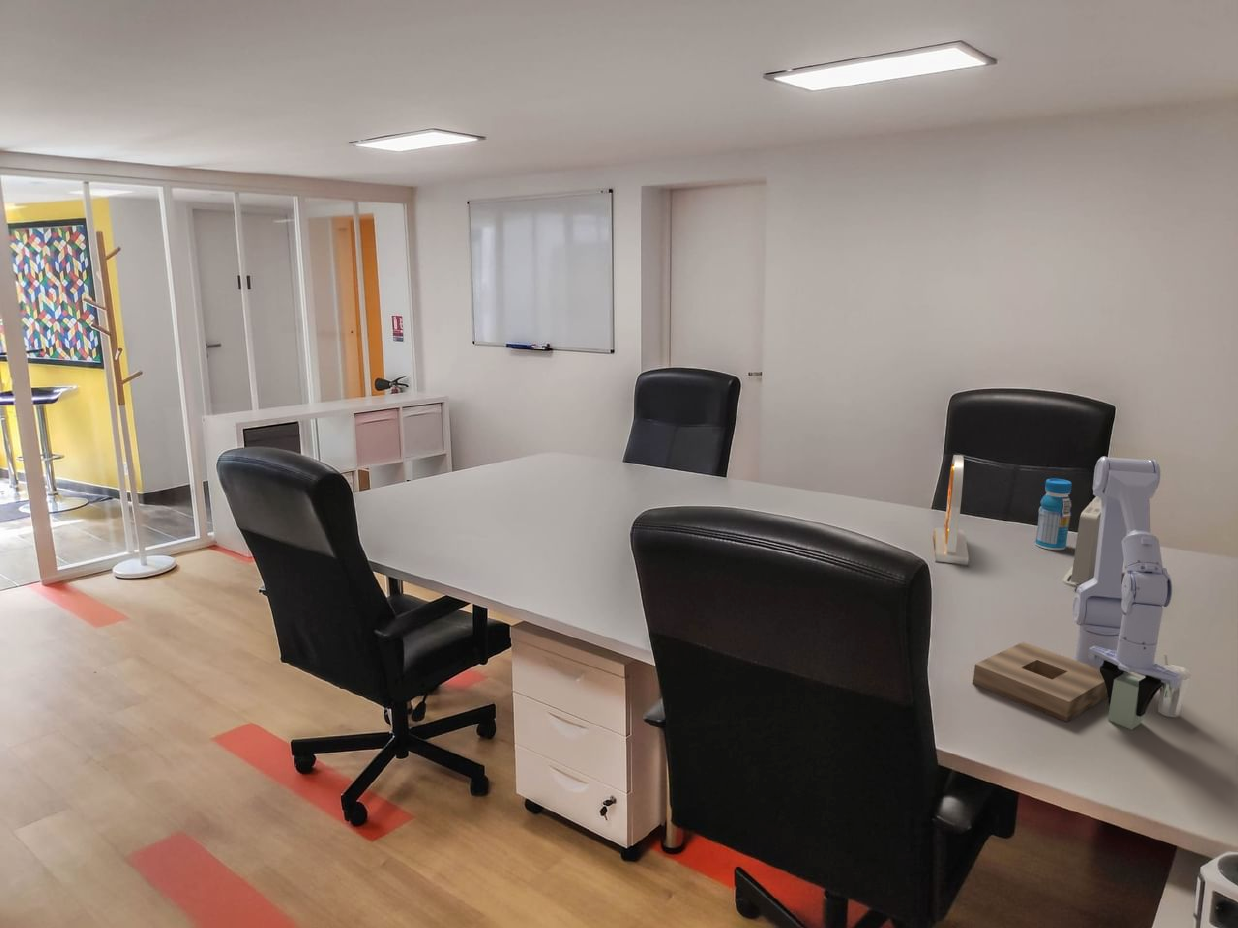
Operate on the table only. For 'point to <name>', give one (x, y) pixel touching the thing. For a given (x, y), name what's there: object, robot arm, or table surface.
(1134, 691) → the peg
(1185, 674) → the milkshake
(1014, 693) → the socket block
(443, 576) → the table surface
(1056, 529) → the beverage bottle
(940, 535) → the award
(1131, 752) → the table surface
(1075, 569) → the network device
